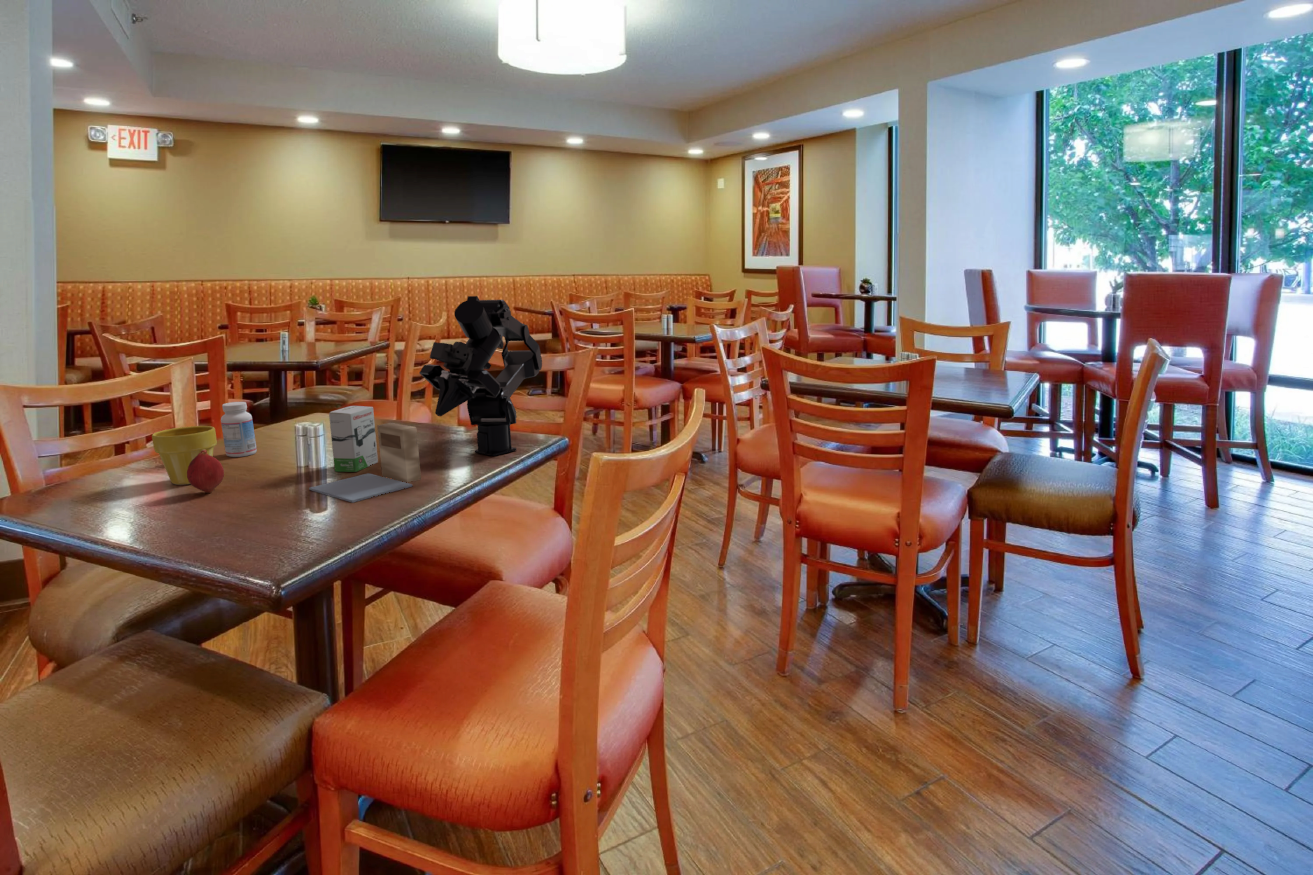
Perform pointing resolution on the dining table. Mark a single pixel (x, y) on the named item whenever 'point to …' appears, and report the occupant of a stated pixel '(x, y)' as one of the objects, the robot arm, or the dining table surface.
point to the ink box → (353, 438)
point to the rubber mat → (360, 487)
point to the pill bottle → (238, 430)
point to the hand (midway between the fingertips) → (437, 415)
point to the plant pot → (182, 448)
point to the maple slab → (399, 452)
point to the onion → (205, 472)
